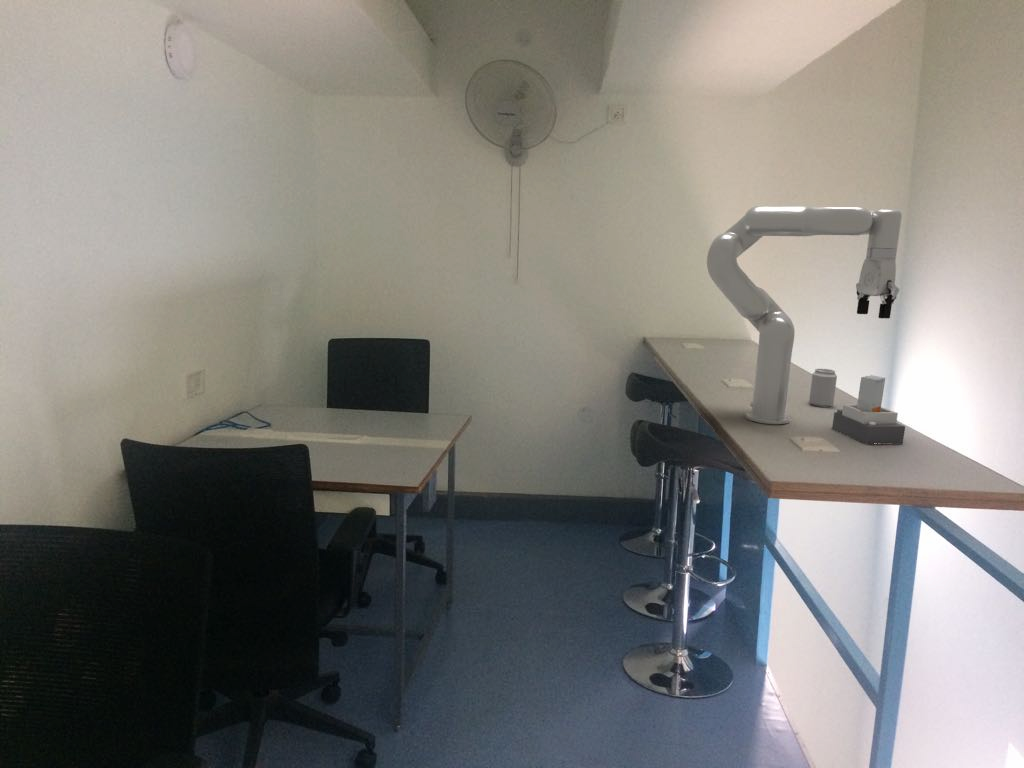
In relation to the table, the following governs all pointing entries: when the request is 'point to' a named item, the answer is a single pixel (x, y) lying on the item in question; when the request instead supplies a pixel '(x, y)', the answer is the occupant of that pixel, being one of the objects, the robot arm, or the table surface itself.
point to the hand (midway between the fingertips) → (872, 316)
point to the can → (823, 387)
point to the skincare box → (871, 393)
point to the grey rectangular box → (869, 425)
